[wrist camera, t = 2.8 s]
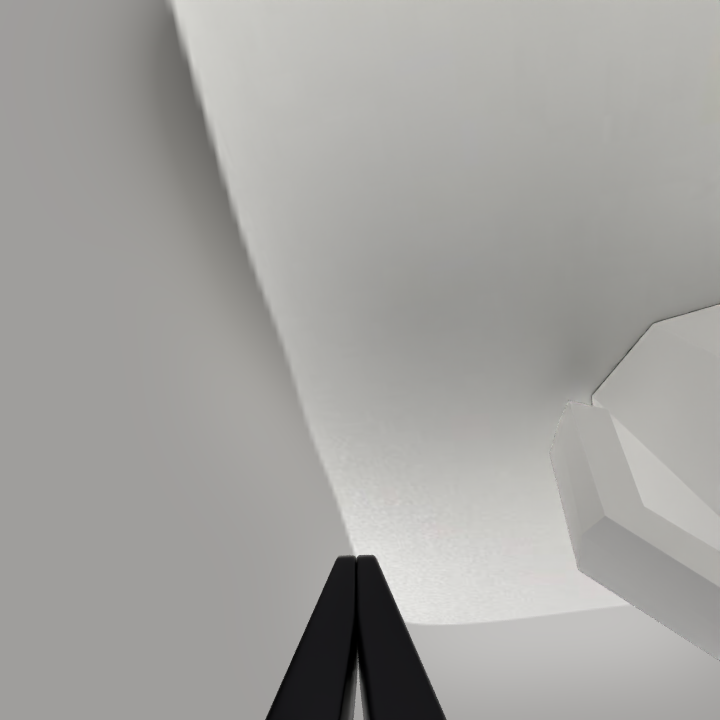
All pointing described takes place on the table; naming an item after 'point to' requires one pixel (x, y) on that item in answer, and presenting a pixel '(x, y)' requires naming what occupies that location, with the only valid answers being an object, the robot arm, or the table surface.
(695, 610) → the mug
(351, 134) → the table surface
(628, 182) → the table surface
